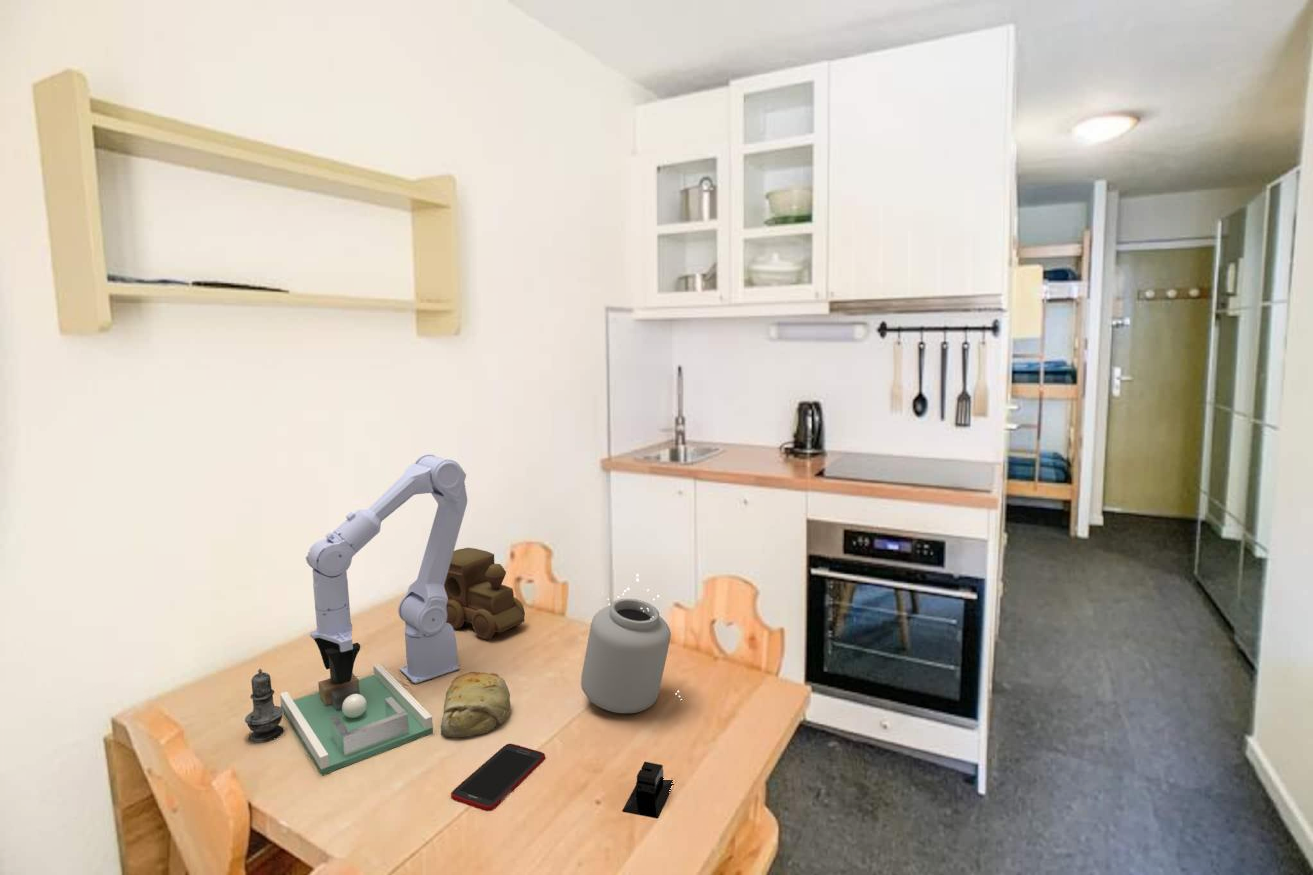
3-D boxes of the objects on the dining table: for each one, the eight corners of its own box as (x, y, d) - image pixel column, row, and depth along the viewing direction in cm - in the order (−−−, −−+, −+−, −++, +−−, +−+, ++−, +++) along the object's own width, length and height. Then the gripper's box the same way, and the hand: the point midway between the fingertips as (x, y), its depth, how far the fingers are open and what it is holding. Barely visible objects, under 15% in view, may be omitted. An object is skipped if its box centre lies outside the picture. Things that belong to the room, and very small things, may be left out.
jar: (692, 693, 134) (692, 567, 130) (662, 733, 120) (661, 594, 117) (604, 675, 141) (601, 555, 137) (566, 711, 128) (562, 579, 124)
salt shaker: (268, 745, 118) (261, 678, 116) (238, 741, 119) (231, 675, 117) (293, 726, 124) (287, 662, 122) (264, 723, 125) (258, 659, 123)
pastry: (490, 692, 135) (489, 653, 134) (528, 717, 126) (526, 675, 125) (421, 721, 125) (419, 679, 124) (457, 750, 116) (454, 704, 115)
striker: (352, 686, 135) (349, 647, 134) (365, 700, 130) (362, 659, 129) (319, 697, 131) (316, 656, 130) (330, 712, 126) (327, 670, 125)
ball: (363, 707, 128) (361, 687, 127) (370, 716, 125) (369, 695, 124) (339, 715, 125) (338, 694, 124) (347, 725, 122) (345, 703, 121)
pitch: (380, 677, 141) (379, 663, 140) (433, 732, 121) (432, 716, 121) (281, 708, 129) (279, 693, 129) (321, 775, 110) (320, 757, 109)
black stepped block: (641, 769, 112) (641, 742, 111) (685, 777, 109) (685, 750, 109) (612, 820, 100) (612, 791, 99) (661, 831, 98) (661, 801, 97)
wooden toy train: (435, 625, 166) (431, 557, 164) (473, 609, 176) (470, 545, 173) (493, 645, 155) (490, 573, 153) (530, 627, 164) (528, 559, 162)
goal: (392, 715, 125) (391, 696, 125) (408, 733, 119) (407, 714, 119) (330, 736, 118) (329, 717, 118) (344, 757, 113) (343, 737, 112)
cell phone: (547, 758, 114) (547, 753, 114) (490, 814, 101) (490, 808, 101) (508, 747, 117) (508, 741, 117) (448, 800, 104) (448, 794, 104)
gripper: (298, 599, 132) (304, 667, 134) (320, 623, 121) (326, 696, 123) (337, 590, 136) (343, 656, 138) (362, 612, 125) (367, 683, 127)
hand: (338, 674), depth 131 cm, fingers open, 7 cm apart
